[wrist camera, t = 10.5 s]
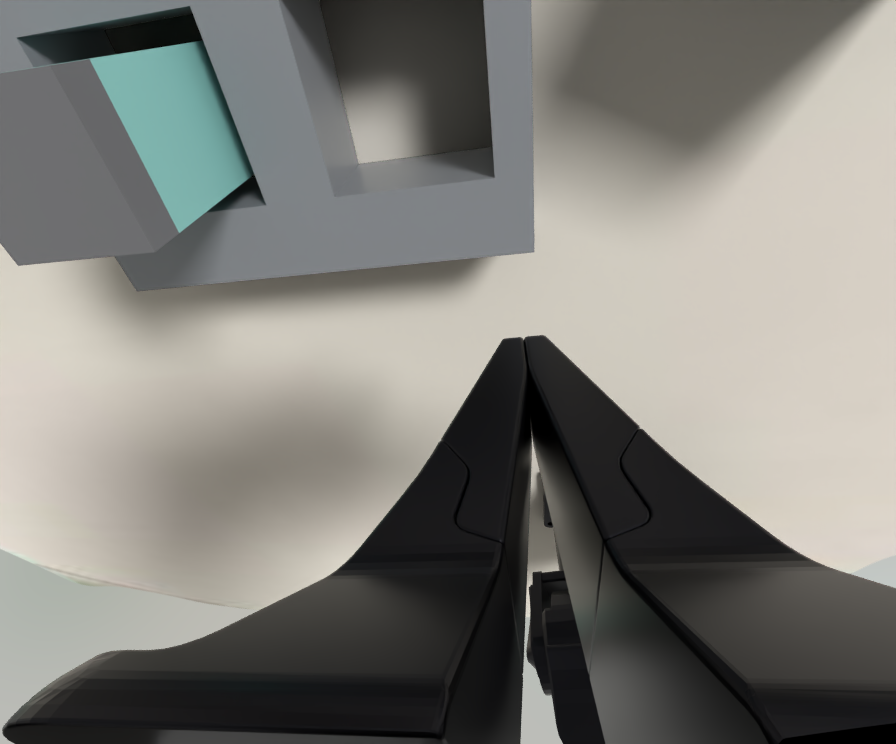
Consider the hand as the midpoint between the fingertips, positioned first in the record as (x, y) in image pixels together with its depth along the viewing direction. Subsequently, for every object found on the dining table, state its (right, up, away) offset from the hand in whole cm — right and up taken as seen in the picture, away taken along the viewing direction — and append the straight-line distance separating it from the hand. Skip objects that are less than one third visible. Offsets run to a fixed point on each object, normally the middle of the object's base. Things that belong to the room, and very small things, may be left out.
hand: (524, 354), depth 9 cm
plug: (-11, +10, +8) cm, 17 cm away
